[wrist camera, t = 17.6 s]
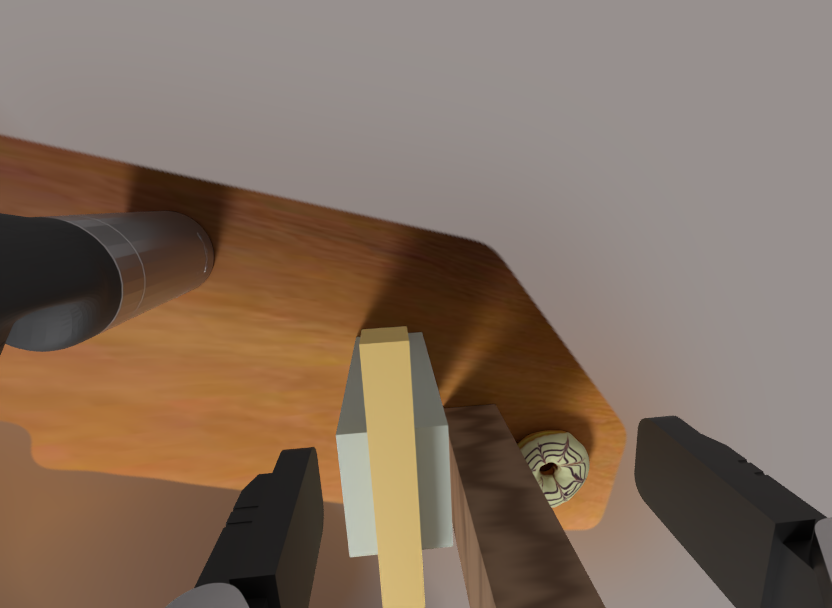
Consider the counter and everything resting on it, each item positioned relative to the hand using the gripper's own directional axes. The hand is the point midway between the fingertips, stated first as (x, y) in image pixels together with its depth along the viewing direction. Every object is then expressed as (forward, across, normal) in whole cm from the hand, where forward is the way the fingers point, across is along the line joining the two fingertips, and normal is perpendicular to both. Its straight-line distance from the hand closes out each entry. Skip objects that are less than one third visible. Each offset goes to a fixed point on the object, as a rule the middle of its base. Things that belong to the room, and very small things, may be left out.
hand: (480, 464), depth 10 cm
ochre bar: (+18, +2, +12) cm, 22 cm away
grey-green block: (+40, +2, +15) cm, 43 cm away
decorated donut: (+40, -17, +29) cm, 53 cm away
